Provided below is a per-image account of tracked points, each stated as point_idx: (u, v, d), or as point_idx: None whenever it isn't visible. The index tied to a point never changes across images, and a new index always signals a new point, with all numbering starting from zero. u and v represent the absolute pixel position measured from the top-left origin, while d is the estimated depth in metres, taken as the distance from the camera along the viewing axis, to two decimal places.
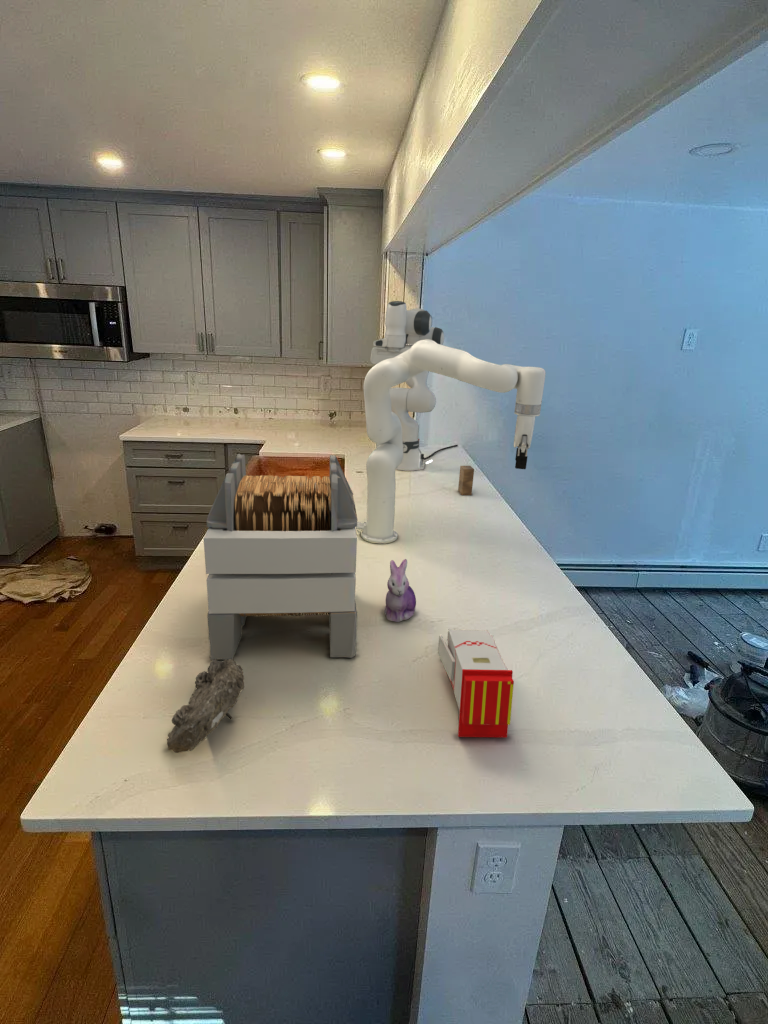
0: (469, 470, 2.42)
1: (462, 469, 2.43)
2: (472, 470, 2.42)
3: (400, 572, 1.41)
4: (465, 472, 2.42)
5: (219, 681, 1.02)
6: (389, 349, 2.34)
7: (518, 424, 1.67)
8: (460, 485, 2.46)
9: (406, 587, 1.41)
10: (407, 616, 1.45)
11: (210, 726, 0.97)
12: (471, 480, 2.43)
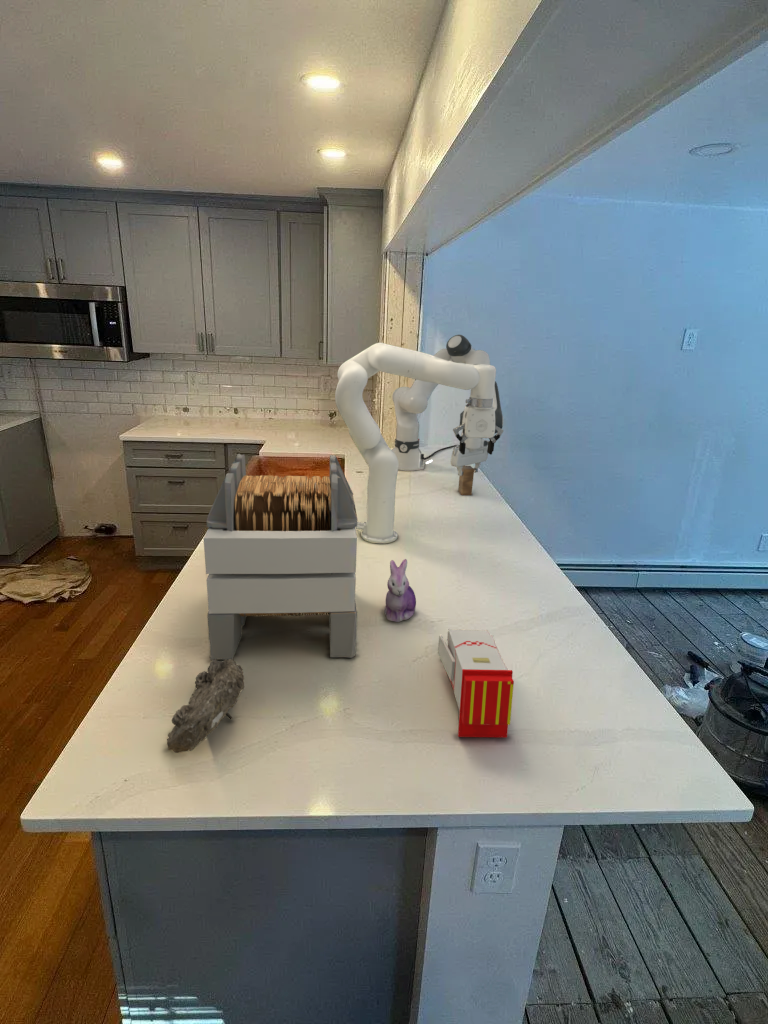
0: (469, 470, 2.42)
1: (462, 469, 2.43)
2: (472, 470, 2.42)
3: (400, 572, 1.41)
4: (465, 472, 2.42)
5: (219, 681, 1.02)
6: None
7: (494, 416, 1.87)
8: (460, 485, 2.46)
9: (406, 587, 1.41)
10: (407, 616, 1.45)
11: (210, 726, 0.97)
12: (471, 480, 2.43)
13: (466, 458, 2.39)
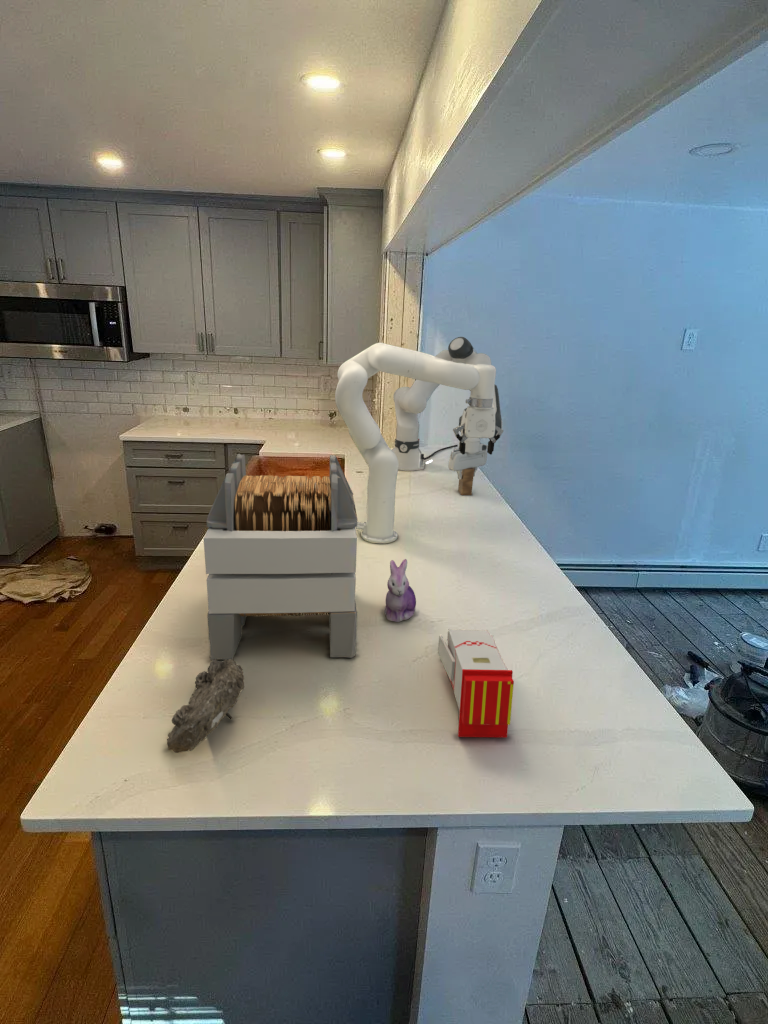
0: (469, 470, 2.42)
1: None
2: (472, 470, 2.42)
3: (400, 572, 1.41)
4: (465, 472, 2.42)
5: (219, 681, 1.02)
6: None
7: (494, 416, 1.87)
8: (460, 485, 2.46)
9: (406, 587, 1.41)
10: (407, 616, 1.45)
11: (210, 726, 0.97)
12: (471, 480, 2.43)
13: (464, 462, 2.39)
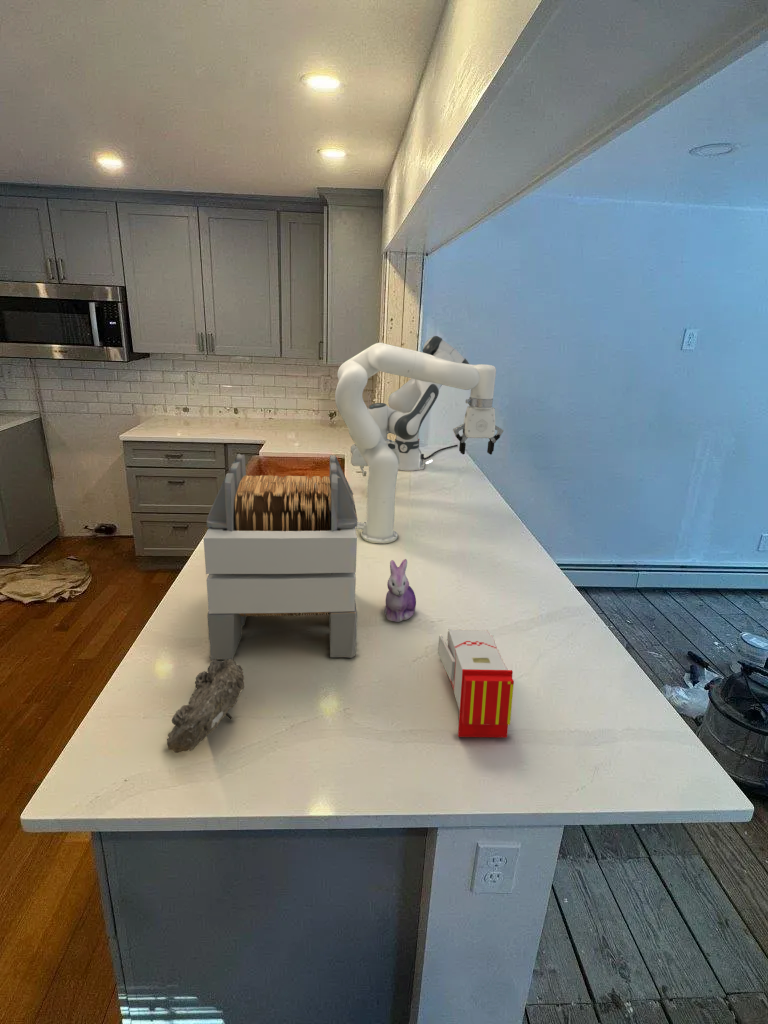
0: None
1: None
2: None
3: (400, 572, 1.41)
4: None
5: (219, 681, 1.02)
6: None
7: (494, 416, 1.87)
8: None
9: (406, 587, 1.41)
10: (407, 616, 1.45)
11: (210, 726, 0.97)
12: None
13: None
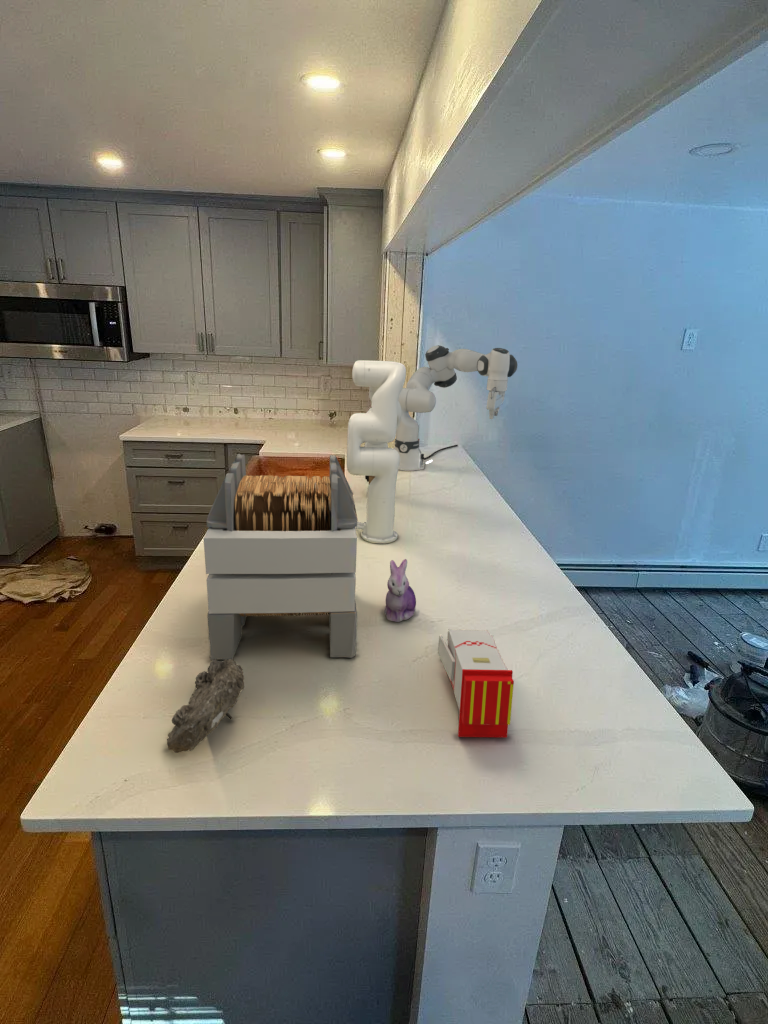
0: None
1: None
2: None
3: (400, 572, 1.41)
4: None
5: (219, 681, 1.02)
6: None
7: None
8: None
9: (406, 587, 1.41)
10: (407, 616, 1.45)
11: (210, 726, 0.97)
12: None
13: (497, 401, 2.50)
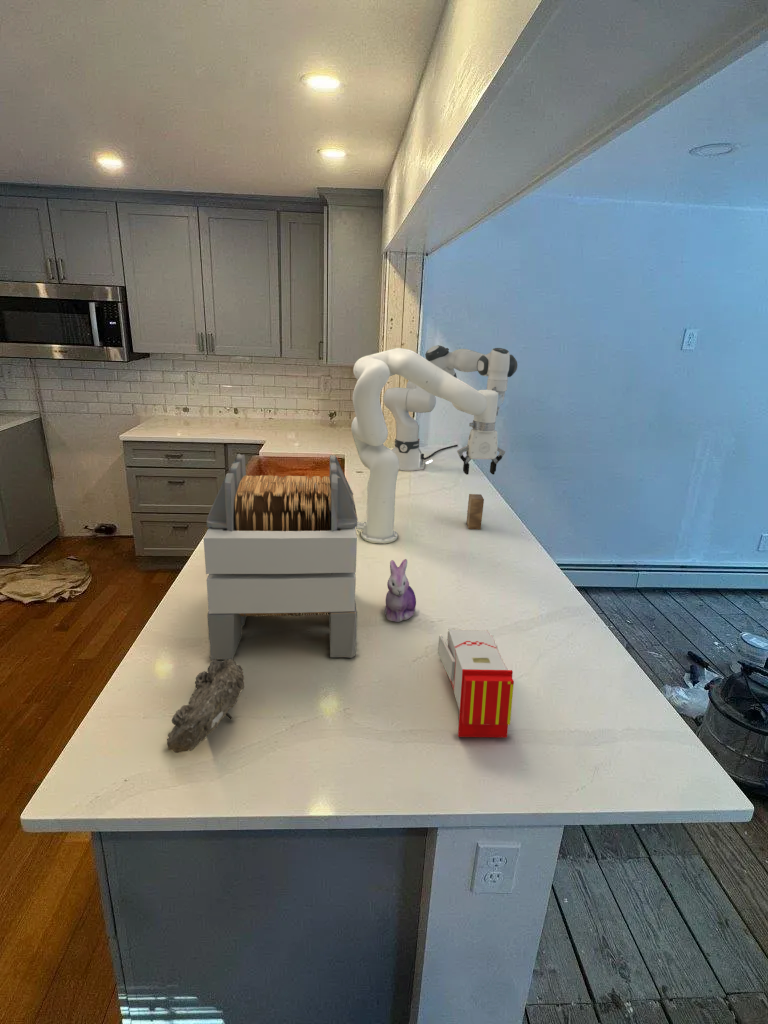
0: (478, 500, 2.04)
1: (470, 498, 2.06)
2: (481, 500, 2.04)
3: (400, 572, 1.41)
4: (473, 502, 2.04)
5: (219, 681, 1.02)
6: None
7: None
8: (468, 517, 2.09)
9: (406, 587, 1.41)
10: (407, 616, 1.45)
11: (210, 726, 0.97)
12: (480, 512, 2.05)
13: None
